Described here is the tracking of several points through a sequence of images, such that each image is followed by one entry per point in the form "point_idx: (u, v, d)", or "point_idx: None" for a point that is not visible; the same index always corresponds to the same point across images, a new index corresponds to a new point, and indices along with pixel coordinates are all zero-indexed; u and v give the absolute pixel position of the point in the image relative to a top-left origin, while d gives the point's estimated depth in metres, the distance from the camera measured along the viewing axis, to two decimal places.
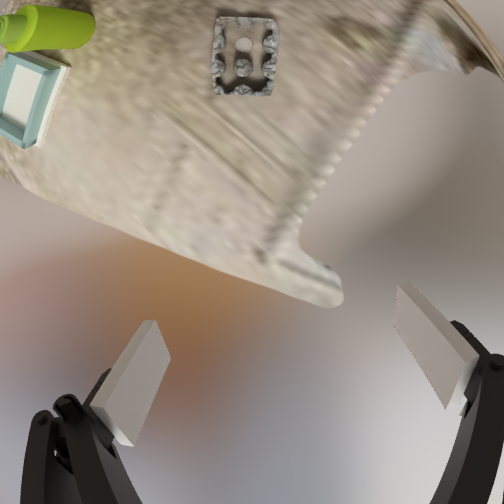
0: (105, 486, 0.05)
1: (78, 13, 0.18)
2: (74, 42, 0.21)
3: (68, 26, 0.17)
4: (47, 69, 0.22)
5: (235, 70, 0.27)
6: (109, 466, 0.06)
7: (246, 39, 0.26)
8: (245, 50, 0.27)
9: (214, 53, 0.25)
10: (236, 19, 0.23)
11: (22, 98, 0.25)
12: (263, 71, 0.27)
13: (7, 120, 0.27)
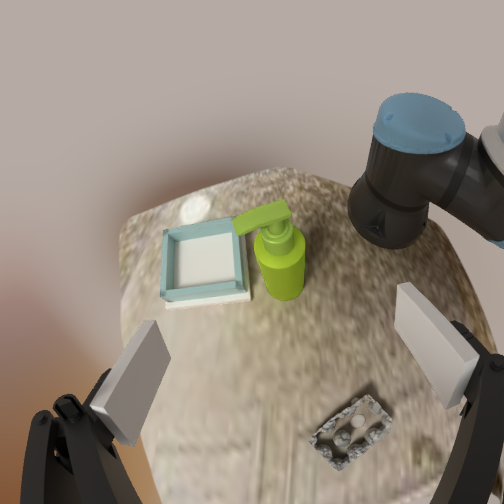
0: (104, 486, 0.05)
1: (303, 277, 0.38)
2: (277, 294, 0.39)
3: (292, 284, 0.35)
4: (242, 283, 0.39)
5: (337, 437, 0.29)
6: (109, 466, 0.06)
7: (362, 419, 0.31)
8: (354, 426, 0.31)
9: (338, 416, 0.30)
10: (373, 402, 0.31)
11: (201, 262, 0.45)
12: (351, 452, 0.28)
13: (174, 253, 0.47)
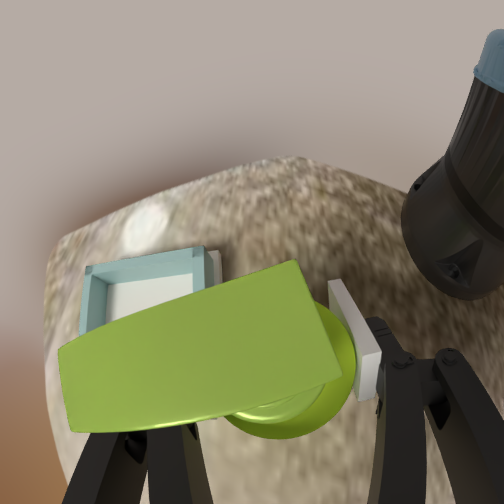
0: (180, 473, 0.05)
1: None
2: None
3: None
4: None
5: None
6: (189, 450, 0.07)
7: None
8: None
9: None
10: None
11: None
12: None
13: (106, 304, 0.25)
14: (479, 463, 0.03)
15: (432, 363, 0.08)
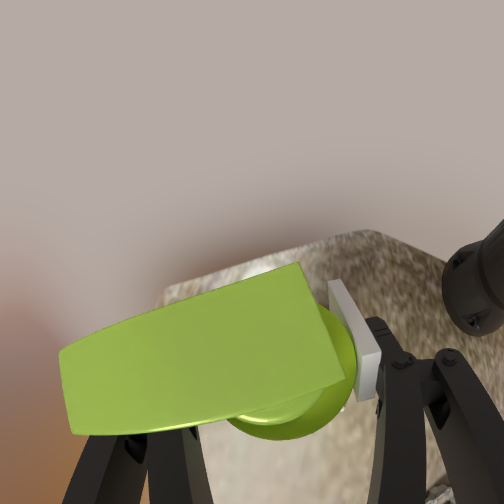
0: (181, 473, 0.05)
1: None
2: None
3: None
4: None
5: None
6: (189, 450, 0.07)
7: (436, 501, 0.19)
8: None
9: None
10: (450, 490, 0.18)
11: None
12: None
13: None
14: (479, 463, 0.03)
15: (432, 363, 0.08)
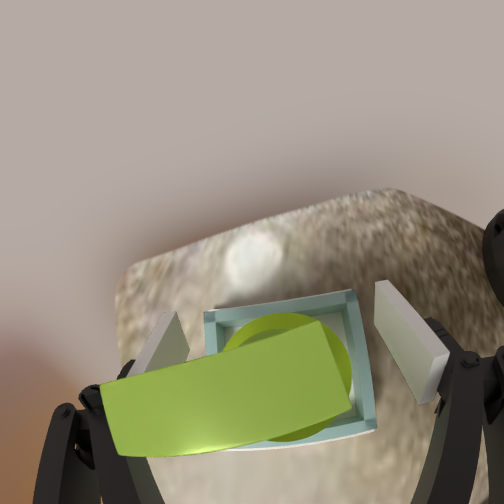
0: (127, 481, 0.05)
1: None
2: None
3: None
4: (375, 422, 0.17)
5: None
6: (133, 460, 0.06)
7: None
8: None
9: None
10: None
11: None
12: None
13: None
14: None
15: (493, 358, 0.07)
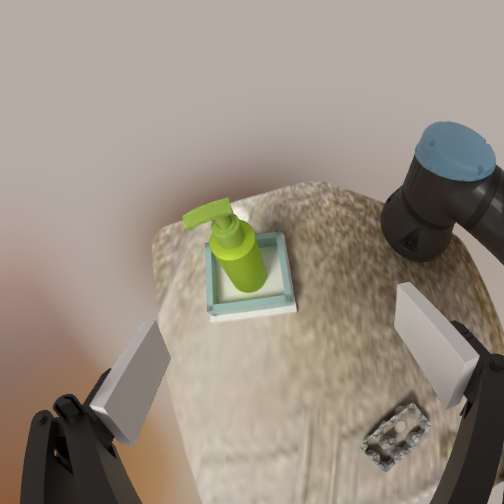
0: (105, 486, 0.05)
1: (263, 271, 0.42)
2: (238, 286, 0.42)
3: (249, 276, 0.39)
4: (291, 297, 0.41)
5: (384, 442, 0.29)
6: (109, 466, 0.06)
7: (404, 424, 0.32)
8: (397, 431, 0.31)
9: (387, 423, 0.31)
10: (415, 409, 0.31)
11: None
12: (396, 454, 0.28)
13: (216, 266, 0.48)
14: None
15: None
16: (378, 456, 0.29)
